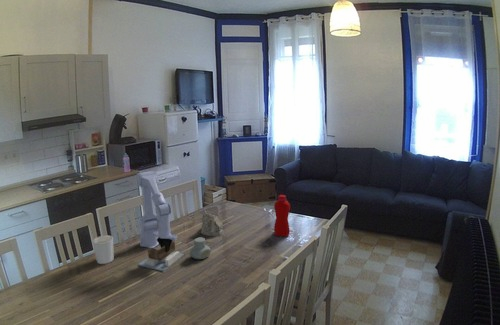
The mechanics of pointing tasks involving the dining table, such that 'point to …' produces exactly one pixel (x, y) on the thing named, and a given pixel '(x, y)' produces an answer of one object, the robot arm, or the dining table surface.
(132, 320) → the dining table surface
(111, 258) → the candle holder
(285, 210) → the water bottle
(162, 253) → the wooden c-shaped bracket
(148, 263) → the display stand
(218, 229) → the beige rock
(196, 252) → the air freshener
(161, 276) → the dining table surface
